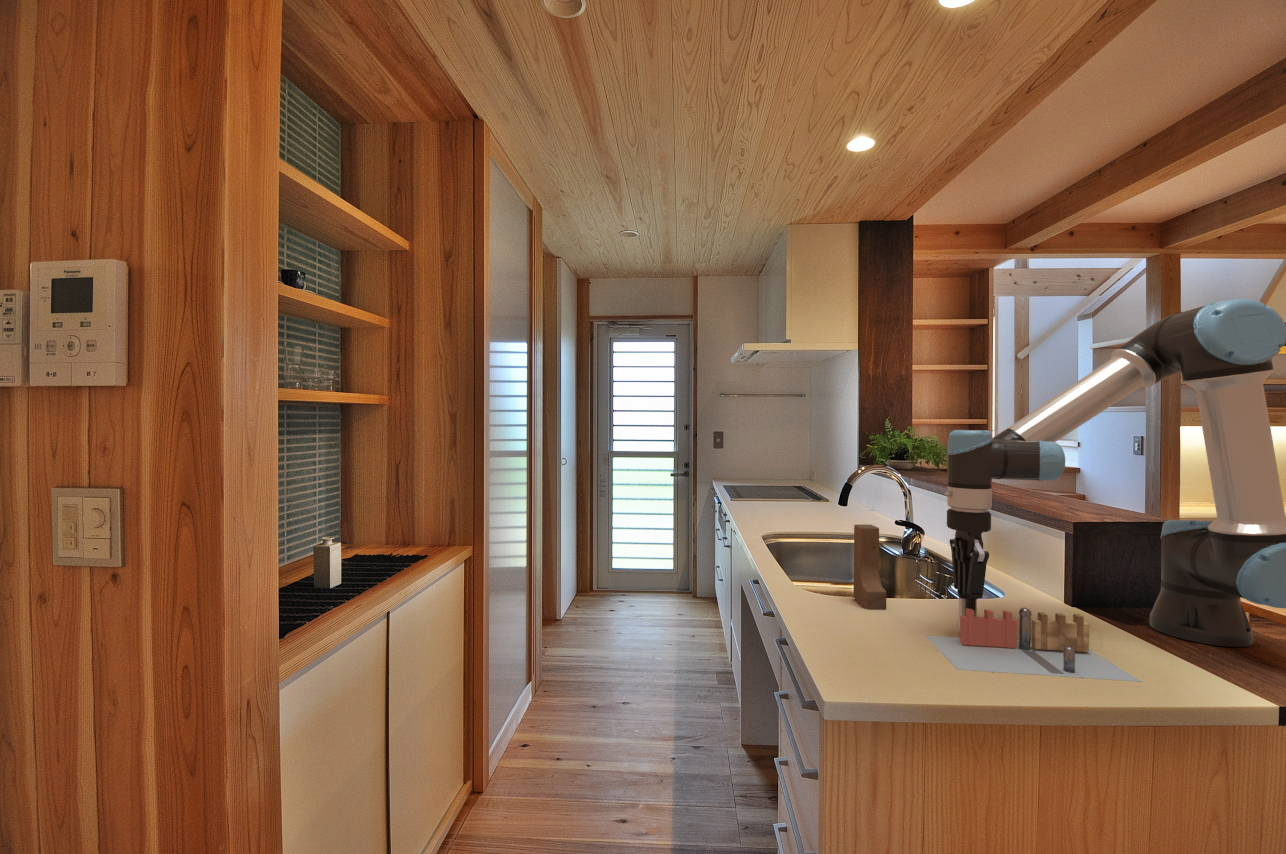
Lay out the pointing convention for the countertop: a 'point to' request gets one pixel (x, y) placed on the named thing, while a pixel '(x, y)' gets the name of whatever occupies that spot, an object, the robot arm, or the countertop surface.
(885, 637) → the countertop surface
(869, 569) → the wooden block
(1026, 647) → the post
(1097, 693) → the countertop surface
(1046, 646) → the fence fixed
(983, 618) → the fence panel
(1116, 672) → the card
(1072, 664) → the peg
